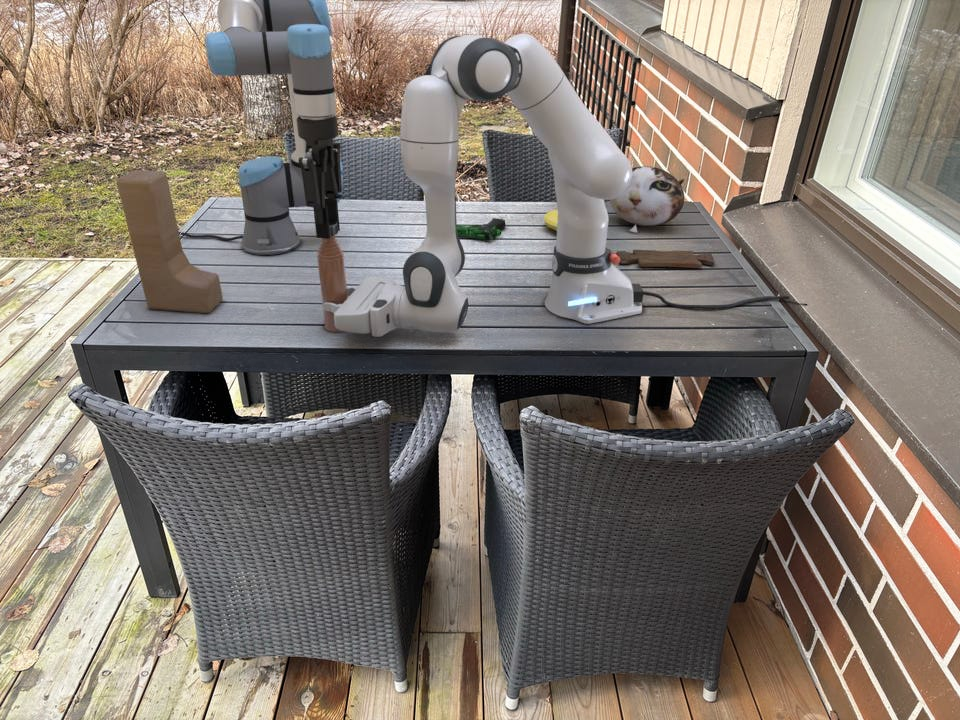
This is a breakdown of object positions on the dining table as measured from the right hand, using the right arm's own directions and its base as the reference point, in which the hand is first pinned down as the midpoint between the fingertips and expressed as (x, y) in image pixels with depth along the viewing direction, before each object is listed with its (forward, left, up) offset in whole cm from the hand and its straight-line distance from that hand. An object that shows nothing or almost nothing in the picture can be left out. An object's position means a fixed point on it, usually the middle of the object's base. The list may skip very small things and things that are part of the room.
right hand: (330, 298), depth 154 cm
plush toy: (-93, -48, -7) cm, 105 cm away
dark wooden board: (-88, -21, -7) cm, 91 cm away
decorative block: (+33, -16, -7) cm, 37 cm away
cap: (-1, 0, +17) cm, 17 cm away
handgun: (-43, -51, -7) cm, 67 cm away
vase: (-70, -48, -7) cm, 86 cm away
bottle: (-1, 0, -7) cm, 7 cm away
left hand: (-1, 0, +15) cm, 15 cm away
